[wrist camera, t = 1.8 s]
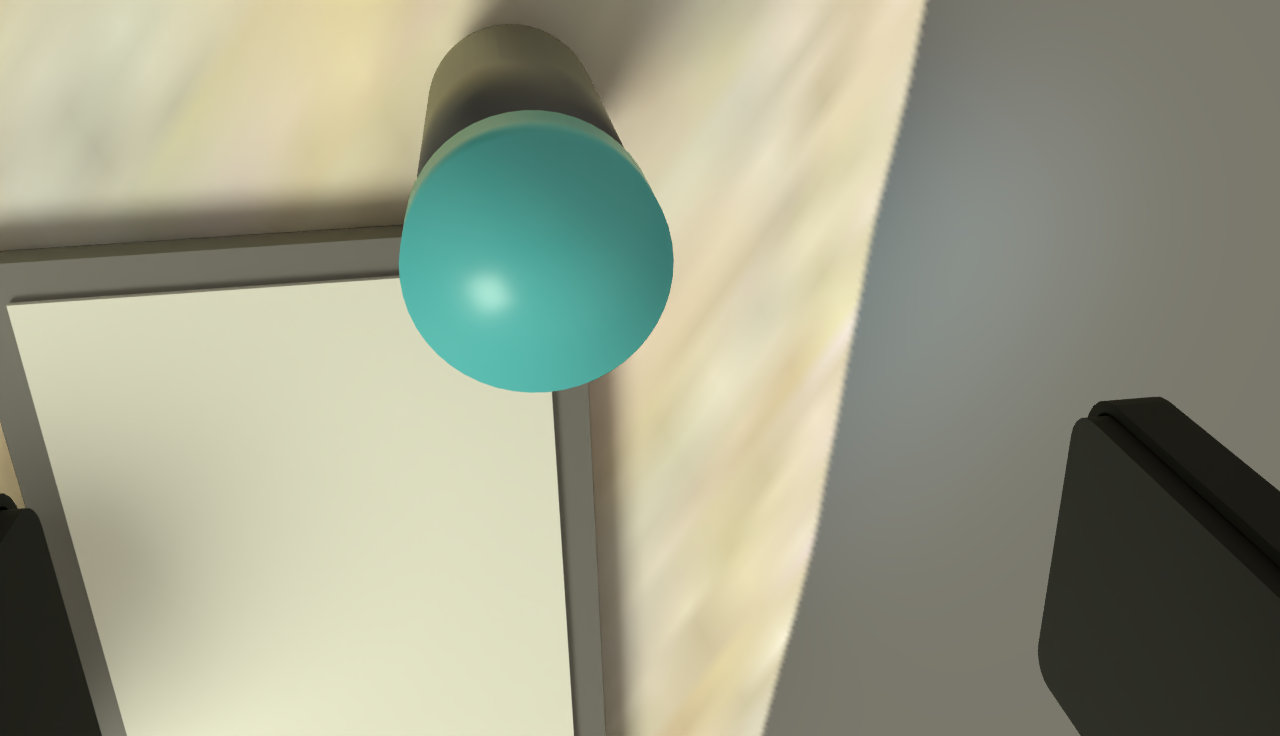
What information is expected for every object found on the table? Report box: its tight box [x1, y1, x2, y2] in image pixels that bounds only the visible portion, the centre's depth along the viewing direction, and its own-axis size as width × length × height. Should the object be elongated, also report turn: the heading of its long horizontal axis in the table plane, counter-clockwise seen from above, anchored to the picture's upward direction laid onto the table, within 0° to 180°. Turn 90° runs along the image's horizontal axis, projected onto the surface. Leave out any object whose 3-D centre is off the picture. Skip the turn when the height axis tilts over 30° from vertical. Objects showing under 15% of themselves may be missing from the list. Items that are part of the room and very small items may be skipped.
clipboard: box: [0, 225, 605, 736], centre depth 33 cm, size 22×15×2 cm
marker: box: [399, 24, 674, 393], centre depth 23 cm, size 4×4×12 cm
